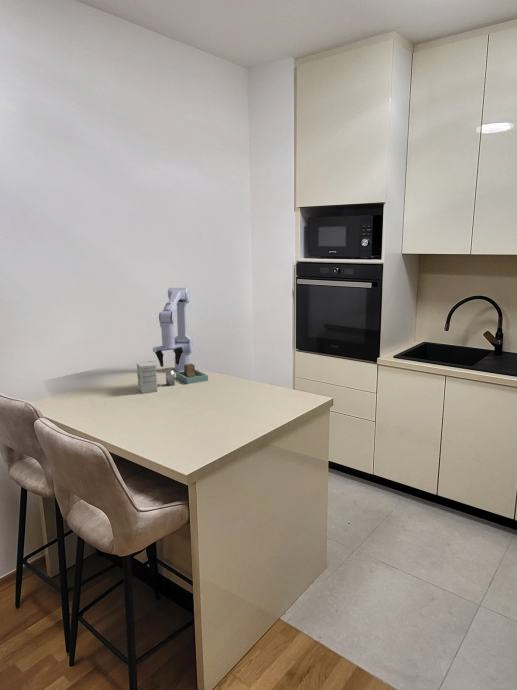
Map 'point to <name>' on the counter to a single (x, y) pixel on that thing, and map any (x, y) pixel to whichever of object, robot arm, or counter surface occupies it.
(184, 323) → the robot arm
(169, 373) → the grey peg
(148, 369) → the supplement box
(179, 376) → the parts tray
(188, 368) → the walnut block
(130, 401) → the counter surface
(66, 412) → the counter surface
